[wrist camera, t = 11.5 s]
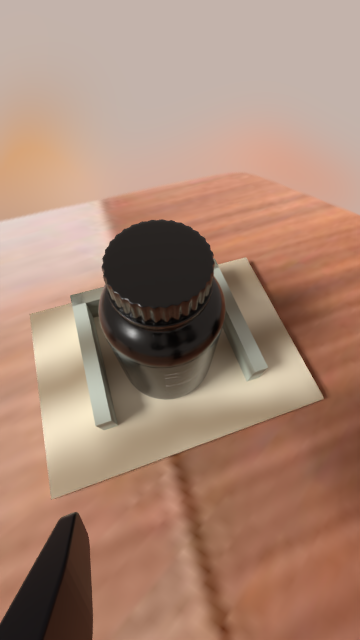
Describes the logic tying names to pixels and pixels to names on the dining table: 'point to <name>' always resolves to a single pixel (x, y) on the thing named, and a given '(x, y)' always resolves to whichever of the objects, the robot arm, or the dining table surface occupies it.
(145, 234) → the supplement bottle
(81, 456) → the cradle board
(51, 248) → the dining table surface
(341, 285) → the dining table surface
